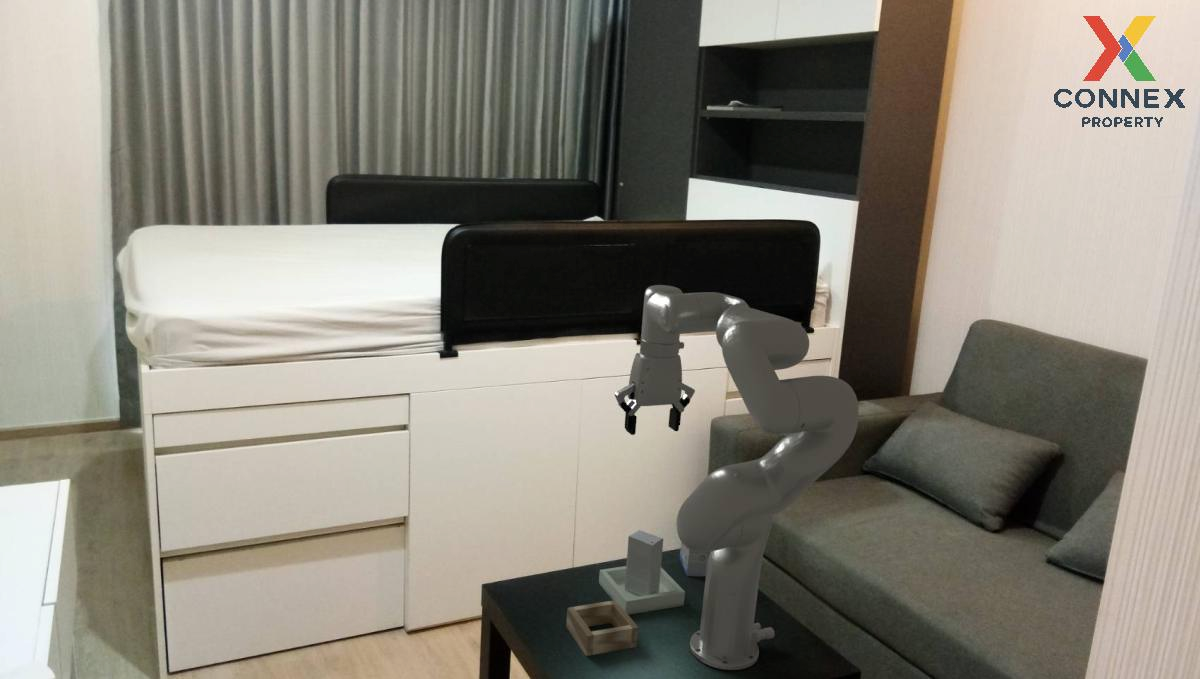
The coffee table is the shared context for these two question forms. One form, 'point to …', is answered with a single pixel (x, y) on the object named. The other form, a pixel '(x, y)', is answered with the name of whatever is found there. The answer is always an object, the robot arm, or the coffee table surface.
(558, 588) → the coffee table surface
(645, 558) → the skincare box
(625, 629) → the collar
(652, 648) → the coffee table surface
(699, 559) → the medicine box
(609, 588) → the tray
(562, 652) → the coffee table surface
